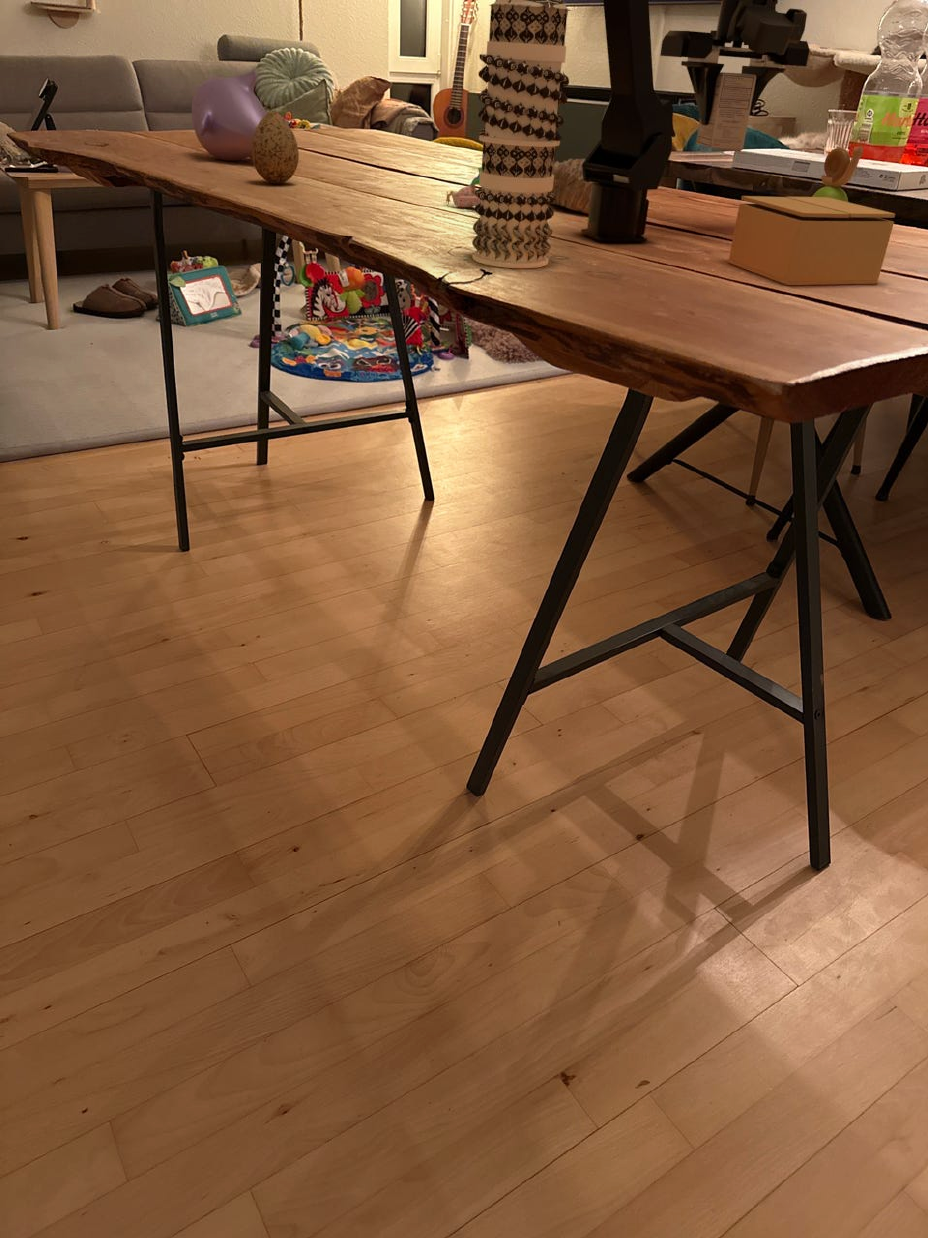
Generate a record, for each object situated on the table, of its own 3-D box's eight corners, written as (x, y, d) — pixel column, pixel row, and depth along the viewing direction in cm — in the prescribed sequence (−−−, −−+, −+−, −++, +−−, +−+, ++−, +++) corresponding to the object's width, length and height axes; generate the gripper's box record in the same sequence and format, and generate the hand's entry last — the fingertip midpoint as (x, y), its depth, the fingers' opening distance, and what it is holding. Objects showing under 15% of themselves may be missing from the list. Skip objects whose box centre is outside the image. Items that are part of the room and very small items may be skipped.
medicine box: (742, 151, 121) (758, 74, 116) (709, 149, 120) (723, 71, 116) (726, 146, 127) (740, 73, 123) (694, 144, 127) (707, 70, 123)
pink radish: (438, 215, 135) (512, 213, 125) (435, 170, 133) (511, 163, 123) (469, 213, 139) (544, 210, 129) (467, 168, 137) (543, 162, 126)
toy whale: (217, 155, 178) (243, 68, 172) (296, 196, 166) (327, 104, 160) (156, 129, 167) (182, 35, 161) (236, 170, 155) (267, 71, 149)
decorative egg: (254, 186, 142) (249, 111, 136) (251, 179, 148) (247, 108, 142) (301, 187, 143) (299, 113, 138) (297, 181, 149) (294, 110, 144)
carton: (787, 285, 100) (803, 212, 96) (728, 262, 109) (740, 195, 105) (877, 283, 103) (896, 213, 99) (812, 261, 113) (827, 196, 109)
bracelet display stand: (455, 252, 105) (468, -15, 92) (528, 251, 108) (550, -8, 95) (489, 269, 98) (508, -17, 85) (566, 267, 101) (595, -9, 88)
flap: (802, 216, 96) (803, 212, 96) (740, 199, 106) (741, 195, 105) (848, 217, 98) (849, 213, 98) (783, 200, 107) (784, 196, 107)
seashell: (648, 194, 136) (622, 128, 130) (606, 234, 134) (577, 168, 128) (584, 199, 147) (557, 139, 141) (544, 236, 145) (515, 176, 139)
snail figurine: (829, 230, 135) (851, 137, 129) (796, 222, 140) (817, 132, 134) (855, 229, 138) (879, 138, 131) (823, 221, 142) (844, 133, 136)
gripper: (719, -28, 105) (692, 128, 113) (853, -13, 111) (819, 134, 119) (669, -24, 114) (648, 120, 122) (796, -10, 120) (768, 126, 128)
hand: (722, 125), depth 123 cm, fingers closed on medicine box, 5 cm apart
